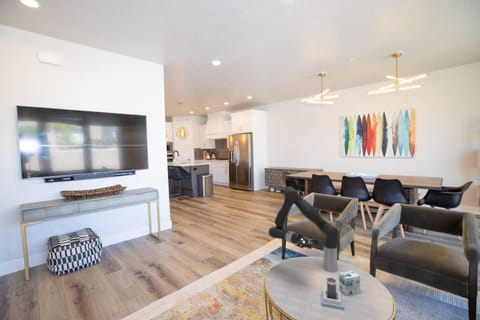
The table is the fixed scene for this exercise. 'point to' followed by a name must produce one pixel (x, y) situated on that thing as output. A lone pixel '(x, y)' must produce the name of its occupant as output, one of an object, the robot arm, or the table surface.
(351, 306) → the table surface
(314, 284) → the table surface
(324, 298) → the blue square socket base
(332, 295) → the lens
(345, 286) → the light bulb box
